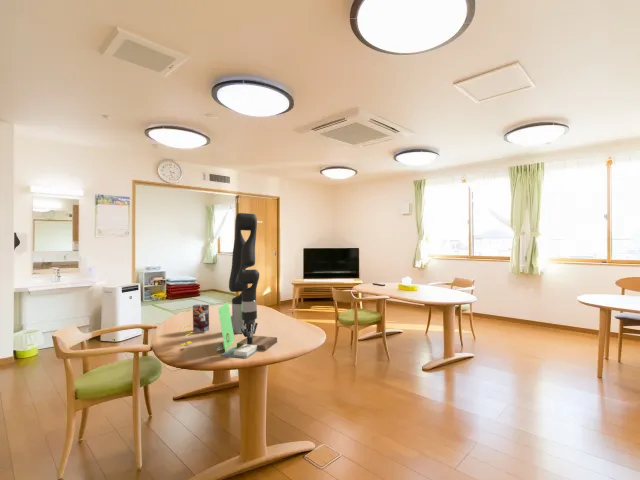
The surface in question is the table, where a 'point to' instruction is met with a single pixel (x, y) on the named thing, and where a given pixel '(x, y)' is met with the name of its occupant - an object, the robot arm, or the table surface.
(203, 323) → the supplement box
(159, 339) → the table surface
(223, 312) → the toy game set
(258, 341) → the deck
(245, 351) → the tile
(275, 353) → the table surface
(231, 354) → the mat
